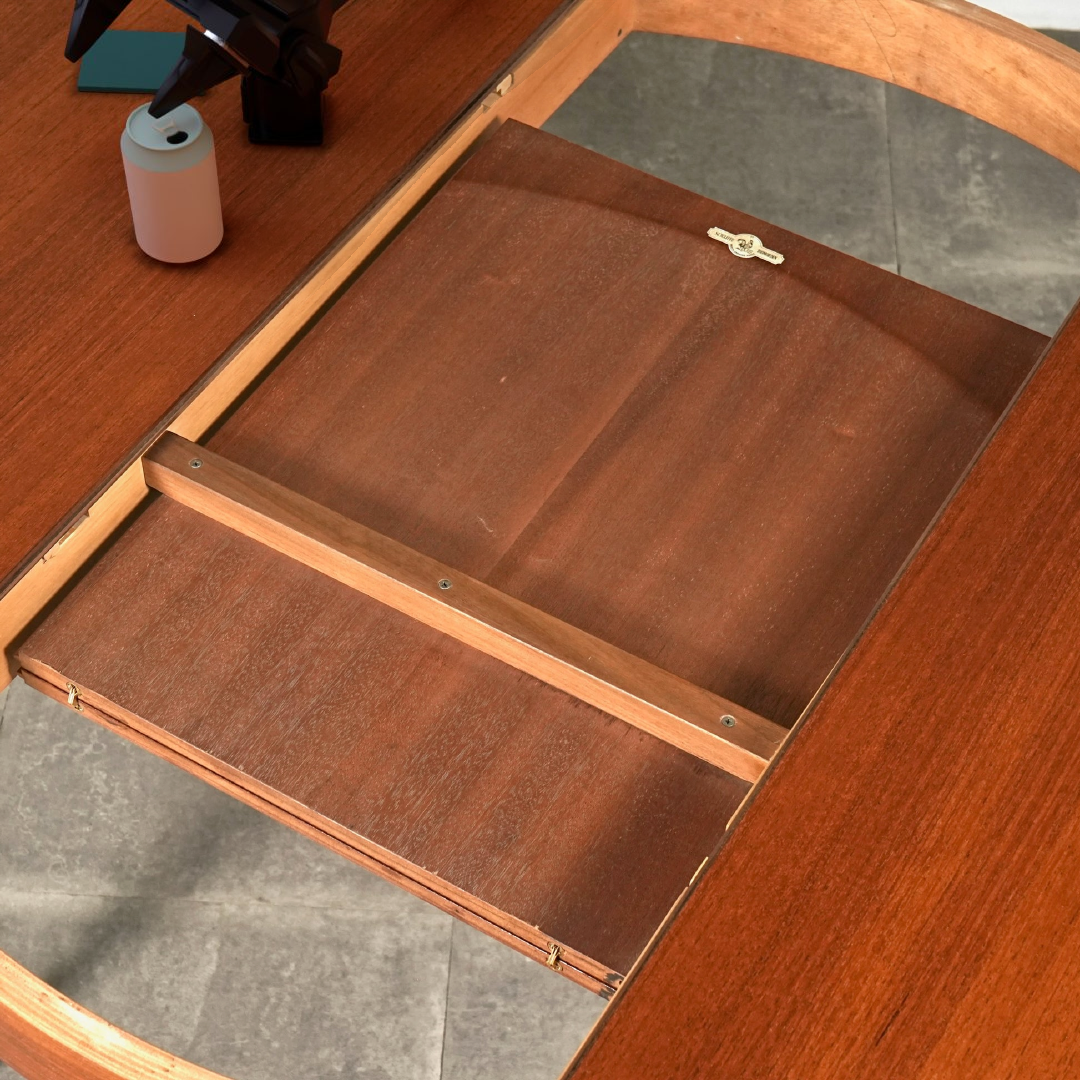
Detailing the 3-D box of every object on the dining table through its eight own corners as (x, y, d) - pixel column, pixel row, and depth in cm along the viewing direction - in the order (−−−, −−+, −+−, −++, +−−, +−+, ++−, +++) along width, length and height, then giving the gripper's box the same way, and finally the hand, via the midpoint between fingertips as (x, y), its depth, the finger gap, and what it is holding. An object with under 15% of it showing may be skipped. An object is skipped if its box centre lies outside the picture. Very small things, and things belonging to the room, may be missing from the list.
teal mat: (211, 39, 146) (210, 33, 146) (204, 95, 142) (203, 90, 141) (88, 34, 145) (87, 28, 145) (77, 91, 141) (76, 85, 140)
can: (234, 216, 133) (222, 101, 123) (210, 275, 129) (196, 161, 119) (151, 202, 133) (133, 86, 124) (125, 260, 129) (104, 145, 119)
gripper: (77, -199, 115) (-40, -16, 116) (262, -89, 109) (137, 104, 110) (158, -119, 125) (50, 48, 126) (331, -14, 119) (216, 160, 120)
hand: (109, 87), depth 120 cm, fingers open, 9 cm apart
